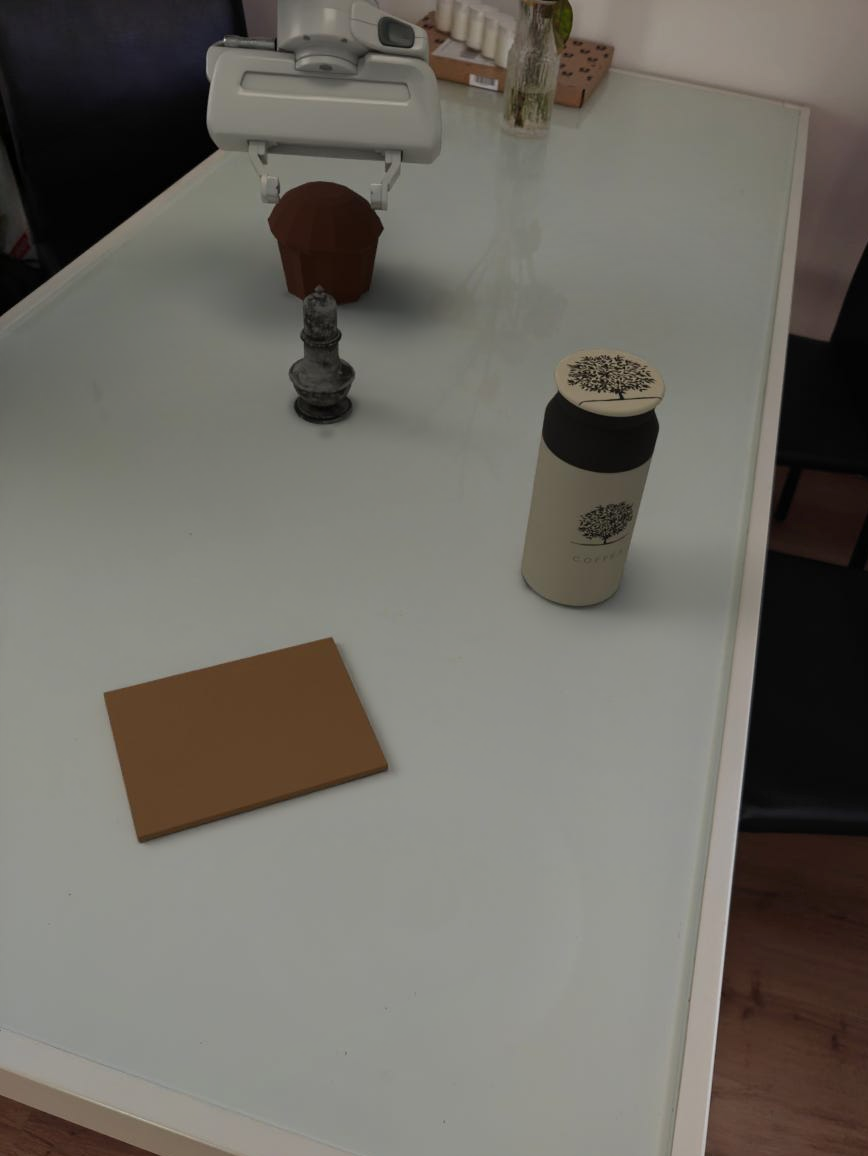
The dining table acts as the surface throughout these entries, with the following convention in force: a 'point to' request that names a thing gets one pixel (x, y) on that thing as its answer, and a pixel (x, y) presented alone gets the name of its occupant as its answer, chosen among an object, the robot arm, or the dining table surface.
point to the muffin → (326, 240)
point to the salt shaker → (321, 364)
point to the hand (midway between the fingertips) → (324, 204)
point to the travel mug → (590, 475)
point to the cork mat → (239, 736)
